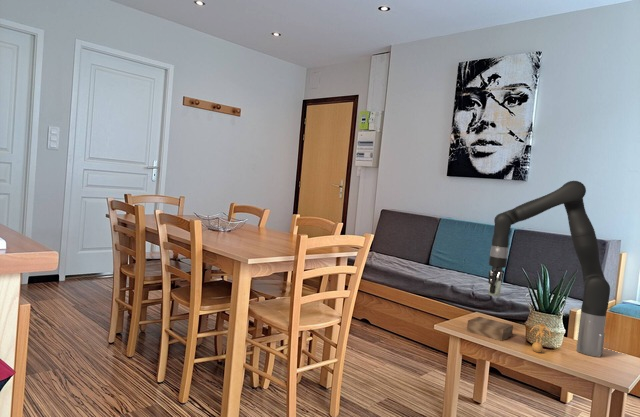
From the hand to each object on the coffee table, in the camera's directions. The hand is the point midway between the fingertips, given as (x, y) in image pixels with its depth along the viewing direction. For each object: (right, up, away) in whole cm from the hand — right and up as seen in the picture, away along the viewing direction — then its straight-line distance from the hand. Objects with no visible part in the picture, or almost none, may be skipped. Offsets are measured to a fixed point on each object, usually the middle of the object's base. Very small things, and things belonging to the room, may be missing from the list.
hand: (494, 292), depth 208 cm
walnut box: (-2, -19, 0) cm, 19 cm away
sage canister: (0, -1, 0) cm, 1 cm away
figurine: (+10, -21, -21) cm, 31 cm away
